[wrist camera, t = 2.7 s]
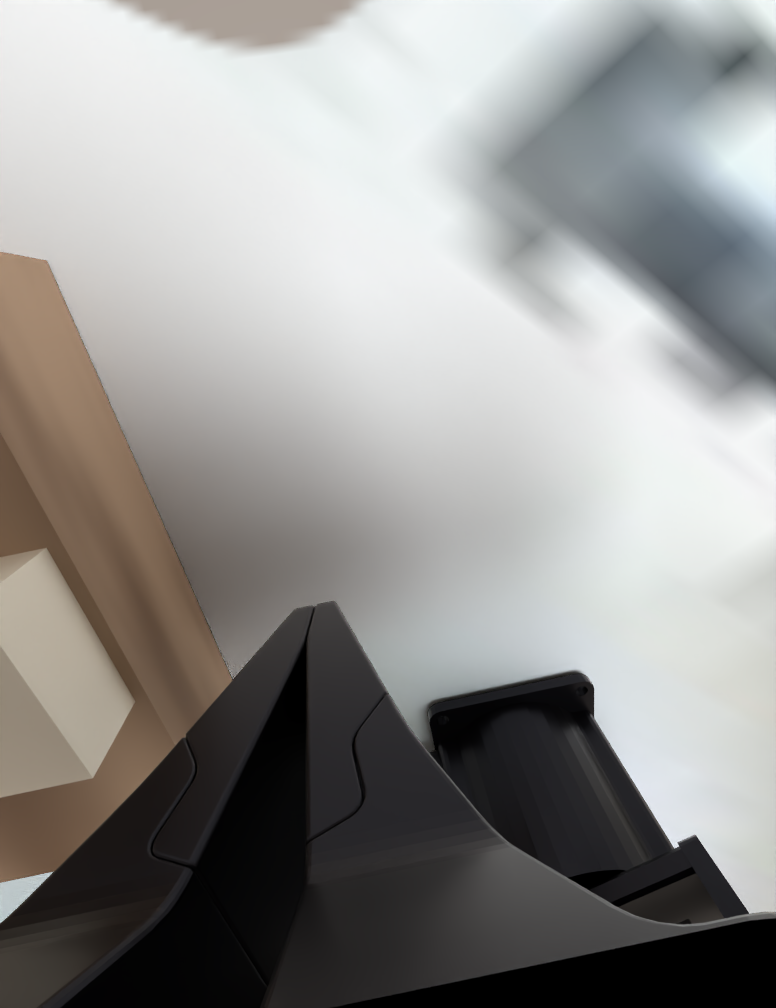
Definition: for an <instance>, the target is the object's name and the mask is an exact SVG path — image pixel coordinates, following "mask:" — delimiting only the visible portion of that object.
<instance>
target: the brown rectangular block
mask: <svg viewBox="0 0 776 1008" xmlns="http://www.w3.org/2000/svg"><path fill="white" fill-rule="evenodd" d="M43 548H47V550H48V551H49V553H50V555H51V557H52V558H53V560H54V562H55V563H56V565H57V567H58V569H59V570H60V572H61V574H62V576H63V577H64V579H65V581H66V582H67V584H68V586H69V588H70V589H71V591H72V593H73V595H74V596H75V598H76V600H77V602H78V603H79V605H80V607H81V608H82V610H83V612H84V614H85V615H86V617H87V619H88V621H89V622H90V624H91V626H92V627H93V629H94V631H95V633H96V634H97V636H98V638H99V640H100V641H101V643H102V645H103V646H104V648H105V650H106V652H107V653H108V655H109V657H110V659H111V660H112V662H113V664H114V666H115V667H116V669H117V671H118V672H119V674H120V676H121V678H122V679H123V681H124V683H125V685H126V686H127V688H128V690H129V691H130V693H131V695H132V697H133V698H134V700H135V703H134V705H133V707H132V708H131V710H130V712H129V714H128V716H127V717H126V719H125V721H124V723H123V725H122V727H121V728H120V730H119V732H118V734H117V736H116V737H115V739H114V741H113V743H112V745H111V746H110V748H109V750H108V752H107V754H106V756H105V757H104V759H103V761H102V763H101V765H100V766H99V768H98V770H97V772H96V774H95V775H94V777H93V778H92V779H87V780H82V781H77V782H72V783H68V784H63V785H58V786H53V787H49V788H44V789H39V790H34V791H30V792H25V793H20V794H15V795H11V796H6V797H1V798H0V883H1V882H6V881H10V880H15V879H20V878H25V877H29V876H34V875H39V874H44V873H48V872H53V871H55V870H56V869H57V868H58V867H59V866H60V865H61V864H62V863H63V862H64V861H65V860H66V859H67V858H68V857H69V856H70V855H71V854H72V853H73V852H74V851H75V850H76V849H77V848H78V847H79V846H80V845H81V844H82V843H83V842H84V841H85V840H86V839H87V838H88V837H89V836H90V835H91V834H92V833H93V832H94V831H95V830H96V829H97V828H98V827H99V826H100V825H101V824H102V823H103V822H104V821H105V820H106V819H107V818H108V817H109V816H110V815H111V814H112V813H113V812H114V811H115V810H116V809H117V808H118V807H119V806H120V805H121V804H122V803H123V802H124V801H125V800H126V799H127V798H128V797H129V796H130V795H131V794H132V793H133V791H134V790H135V789H136V788H137V787H138V786H139V785H140V784H141V783H142V782H143V781H144V780H145V779H146V778H147V777H148V775H149V774H150V773H151V772H152V771H153V770H154V769H155V768H156V767H157V766H158V764H159V763H160V762H161V761H162V760H163V759H164V758H165V757H166V756H167V754H168V753H169V752H170V751H171V750H172V749H173V748H174V746H175V745H176V744H177V743H178V742H179V741H180V740H181V738H183V737H185V738H186V733H187V732H188V731H189V729H190V728H191V727H192V726H193V725H194V724H195V723H196V721H197V720H198V719H199V718H200V717H201V716H202V715H203V713H204V712H205V711H206V710H207V709H208V708H209V707H210V705H211V704H212V703H213V702H214V701H215V700H216V699H217V697H218V696H219V695H220V694H221V693H222V692H223V691H224V689H225V688H226V687H227V686H228V685H229V684H230V683H231V681H232V678H231V676H230V673H229V671H228V669H227V667H226V664H225V662H224V660H223V658H222V655H221V653H220V651H219V649H218V646H217V644H216V642H215V640H214V637H213V635H212V633H211V631H210V628H209V626H208V624H207V622H206V619H205V617H204V615H203V612H202V610H201V608H200V606H199V603H198V601H197V599H196V597H195V594H194V592H193V590H192V588H191V585H190V583H189V581H188V579H187V576H186V574H185V572H184V570H183V567H182V565H181V563H180V561H179V558H178V556H177V554H176V552H175V549H174V547H173V545H172V542H171V540H170V538H169V536H168V533H167V531H166V529H165V527H164V524H163V522H162V520H161V518H160V515H159V513H158V511H157V509H156V506H155V504H154V502H153V500H152V497H151V495H150V493H149V491H148V488H147V486H146V484H145V482H144V479H143V477H142V475H141V473H140V470H139V468H138V466H137V463H136V461H135V459H134V457H133V454H132V452H131V450H130V448H129V445H128V443H127V441H126V439H125V436H124V434H123V432H122V430H121V427H120V425H119V423H118V421H117V418H116V416H115V414H114V412H113V409H112V407H111V405H110V403H109V400H108V398H107V396H106V394H105V391H104V389H103V387H102V384H101V382H100V380H99V378H98V375H97V373H96V371H95V369H94V366H93V364H92V362H91V360H90V357H89V355H88V353H87V351H86V348H85V346H84V344H83V342H82V339H81V337H80V335H79V333H78V330H77V328H76V326H75V324H74V321H73V319H72V317H71V315H70V312H69V310H68V308H67V305H66V303H65V301H64V299H63V296H62V294H61V292H60V290H59V287H58V285H57V283H56V281H55V278H54V276H53V274H52V272H51V269H50V267H49V265H48V263H47V261H46V260H41V259H35V258H30V257H25V256H19V255H14V254H9V253H3V252H0V557H4V556H9V555H14V554H19V553H24V552H28V551H33V550H38V549H43Z"/></svg>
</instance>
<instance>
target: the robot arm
mask: <svg viewBox="0 0 776 1008" xmlns="http://www.w3.org/2000/svg"><path fill="white" fill-rule="evenodd" d="M440 716H442V717H440ZM428 717H429V722H430V727H431V732H432V736H433V741H434V746H435V750H434V751H430V752H428V751H427V750H426V748H425V747H424V746H423V744H422V743H421V742H420V741H419V739H418V738H417V737H416V735H415V734H414V733H413V731H412V730H411V729H410V727H409V725H408V724H407V722H406V721H405V719H404V718H403V716H402V715H401V713H400V711H399V710H398V708H397V707H396V705H395V703H394V701H393V700H392V698H391V696H390V695H389V693H388V691H387V690H386V688H385V686H384V684H383V683H382V681H381V679H380V678H379V676H378V674H377V672H376V671H375V669H374V667H373V665H372V664H371V662H370V660H369V659H368V657H367V655H366V653H365V652H364V650H363V648H362V646H361V645H360V643H359V641H358V640H357V638H356V636H355V634H354V633H353V631H352V629H351V627H350V626H349V624H348V622H347V620H346V619H345V617H344V615H343V614H342V612H341V610H340V608H339V607H338V605H337V603H336V602H335V601H330V602H325V603H320V604H317V605H316V606H313V605H311V606H306V607H301V608H297V609H295V610H294V611H293V612H292V613H291V614H290V615H289V616H288V617H287V618H286V620H285V621H284V622H283V623H282V624H281V625H280V626H279V628H278V629H277V630H276V631H275V632H274V633H273V634H272V636H271V637H270V638H269V639H268V640H267V641H266V642H265V644H264V645H263V646H262V647H261V648H260V649H259V650H258V652H257V653H256V654H255V655H254V656H253V657H252V658H251V660H250V661H249V662H248V663H247V664H246V665H245V666H244V668H243V669H242V670H241V671H240V672H239V673H238V675H237V676H236V677H235V678H234V679H233V680H232V681H231V683H230V684H229V685H228V686H227V687H226V688H225V689H224V691H223V692H222V693H221V694H220V695H219V696H218V697H217V699H216V700H215V701H214V702H213V703H212V704H211V705H210V707H209V708H208V709H207V710H206V711H205V712H204V713H203V715H202V716H201V717H200V718H199V719H198V720H197V721H196V723H195V724H194V725H193V726H192V727H191V728H190V729H189V731H188V732H187V733H186V738H185V737H183V738H181V740H180V741H179V742H178V743H177V744H176V745H175V746H174V748H173V749H172V750H171V751H170V752H169V753H168V754H167V756H166V757H165V758H164V759H163V760H162V761H161V762H160V763H159V764H158V766H157V767H156V768H155V769H154V770H153V771H152V772H151V773H150V774H149V775H148V777H147V778H146V779H145V780H144V781H143V782H142V783H141V784H140V785H139V786H138V787H137V788H136V789H135V790H134V791H133V793H132V794H131V795H130V796H129V797H128V798H127V799H126V800H125V801H124V802H123V803H122V804H121V805H120V806H119V807H118V808H117V809H116V810H115V811H114V812H113V813H112V814H111V815H110V816H109V817H108V818H107V819H106V820H105V821H104V822H103V823H102V824H101V825H100V826H99V827H98V828H97V829H96V830H95V831H94V832H93V833H92V834H91V835H90V836H89V837H88V838H87V839H86V840H85V841H84V842H83V843H82V844H81V845H80V846H79V847H78V848H77V849H76V850H75V851H74V852H73V853H72V854H71V855H70V856H69V857H68V858H67V859H66V860H65V861H64V862H63V863H62V864H61V865H60V866H59V867H58V868H57V869H56V870H55V871H54V872H53V873H52V874H51V875H50V876H49V877H48V878H47V879H46V880H45V881H44V882H43V883H42V884H41V885H40V886H39V887H38V888H37V889H36V890H35V891H34V892H33V893H32V894H31V895H30V896H29V897H28V898H27V899H26V900H25V901H24V902H23V903H22V904H21V905H20V906H19V907H18V908H17V909H16V910H15V911H14V912H13V913H12V914H11V915H9V916H8V917H7V918H6V919H5V920H4V921H3V922H2V923H0V1008H776V912H760V913H752V914H749V912H748V911H747V909H746V908H745V907H744V905H743V904H742V902H741V901H740V899H739V898H738V896H737V895H736V893H735V892H734V890H733V889H732V888H731V886H730V885H729V883H728V882H727V880H726V879H725V877H724V876H723V874H722V873H721V871H720V870H719V869H718V867H717V866H716V864H715V863H714V861H713V860H712V858H711V857H710V855H709V854H708V852H707V851H706V850H705V848H704V847H703V845H702V844H701V842H700V841H699V839H698V838H697V836H696V835H693V836H691V837H689V838H686V839H684V840H682V841H680V842H678V845H679V846H680V847H677V848H675V849H674V848H673V846H672V844H671V843H670V841H669V839H668V838H667V836H666V835H665V833H664V831H663V830H662V828H661V826H660V825H659V823H658V822H657V820H656V818H655V817H654V815H653V813H652V812H651V810H650V809H649V807H648V805H647V804H646V802H645V800H644V799H643V797H642V796H641V794H640V792H639V791H638V789H637V787H636V786H635V784H634V782H633V781H632V779H631V778H630V776H629V774H628V773H627V771H626V769H625V768H624V766H623V765H622V763H621V761H620V760H619V758H618V756H617V755H616V753H615V752H614V750H613V748H612V747H611V745H610V743H609V742H608V740H607V739H606V737H605V735H604V734H603V732H602V730H601V729H600V727H599V726H598V724H597V722H596V721H595V719H594V687H593V684H592V683H591V681H590V680H589V678H588V677H587V676H586V675H584V674H574V675H569V676H564V677H560V678H555V679H550V680H545V681H541V682H536V683H531V684H526V685H522V686H517V687H512V688H507V689H502V690H498V691H493V692H488V693H483V694H479V695H474V696H469V697H464V698H460V699H455V700H450V701H445V702H441V703H437V704H434V705H433V706H432V707H430V709H429V710H428Z"/></svg>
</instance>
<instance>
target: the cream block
mask: <svg viewBox="0 0 776 1008" xmlns="http://www.w3.org/2000/svg"><path fill="white" fill-rule="evenodd" d="M134 703H135V700H134V698H133V697H132V695H131V693H130V691H129V690H128V688H127V686H126V685H125V683H124V681H123V679H122V678H121V676H120V674H119V672H118V671H117V669H116V667H115V666H114V664H113V662H112V660H111V659H110V657H109V655H108V653H107V652H106V650H105V648H104V646H103V645H102V643H101V641H100V640H99V638H98V636H97V634H96V633H95V631H94V629H93V627H92V626H91V624H90V622H89V621H88V619H87V617H86V615H85V614H84V612H83V610H82V608H81V607H80V605H79V603H78V602H77V600H76V598H75V596H74V595H73V593H72V591H71V589H70V588H69V586H68V584H67V582H66V581H65V579H64V577H63V576H62V574H61V572H60V570H59V569H58V567H57V565H56V563H55V562H54V560H53V558H52V557H51V555H50V553H49V551H48V550H47V548H43V549H38V550H33V551H28V552H24V553H19V554H14V555H9V556H4V557H0V798H1V797H6V796H11V795H15V794H20V793H25V792H30V791H34V790H39V789H44V788H49V787H53V786H58V785H63V784H68V783H72V782H77V781H82V780H87V779H92V778H93V777H94V775H95V774H96V772H97V770H98V768H99V766H100V765H101V763H102V761H103V759H104V757H105V756H106V754H107V752H108V750H109V748H110V746H111V745H112V743H113V741H114V739H115V737H116V736H117V734H118V732H119V730H120V728H121V727H122V725H123V723H124V721H125V719H126V717H127V716H128V714H129V712H130V710H131V708H132V707H133V705H134Z"/></svg>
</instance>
